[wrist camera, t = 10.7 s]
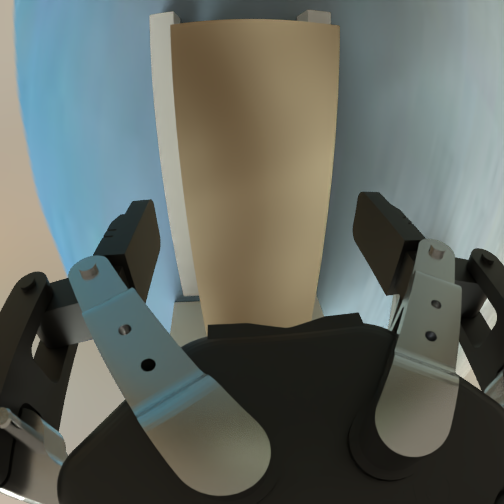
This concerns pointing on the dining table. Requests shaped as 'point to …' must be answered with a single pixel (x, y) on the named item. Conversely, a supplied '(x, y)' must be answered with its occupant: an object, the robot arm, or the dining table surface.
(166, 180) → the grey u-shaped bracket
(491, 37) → the dining table surface
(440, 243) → the robot arm
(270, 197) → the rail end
